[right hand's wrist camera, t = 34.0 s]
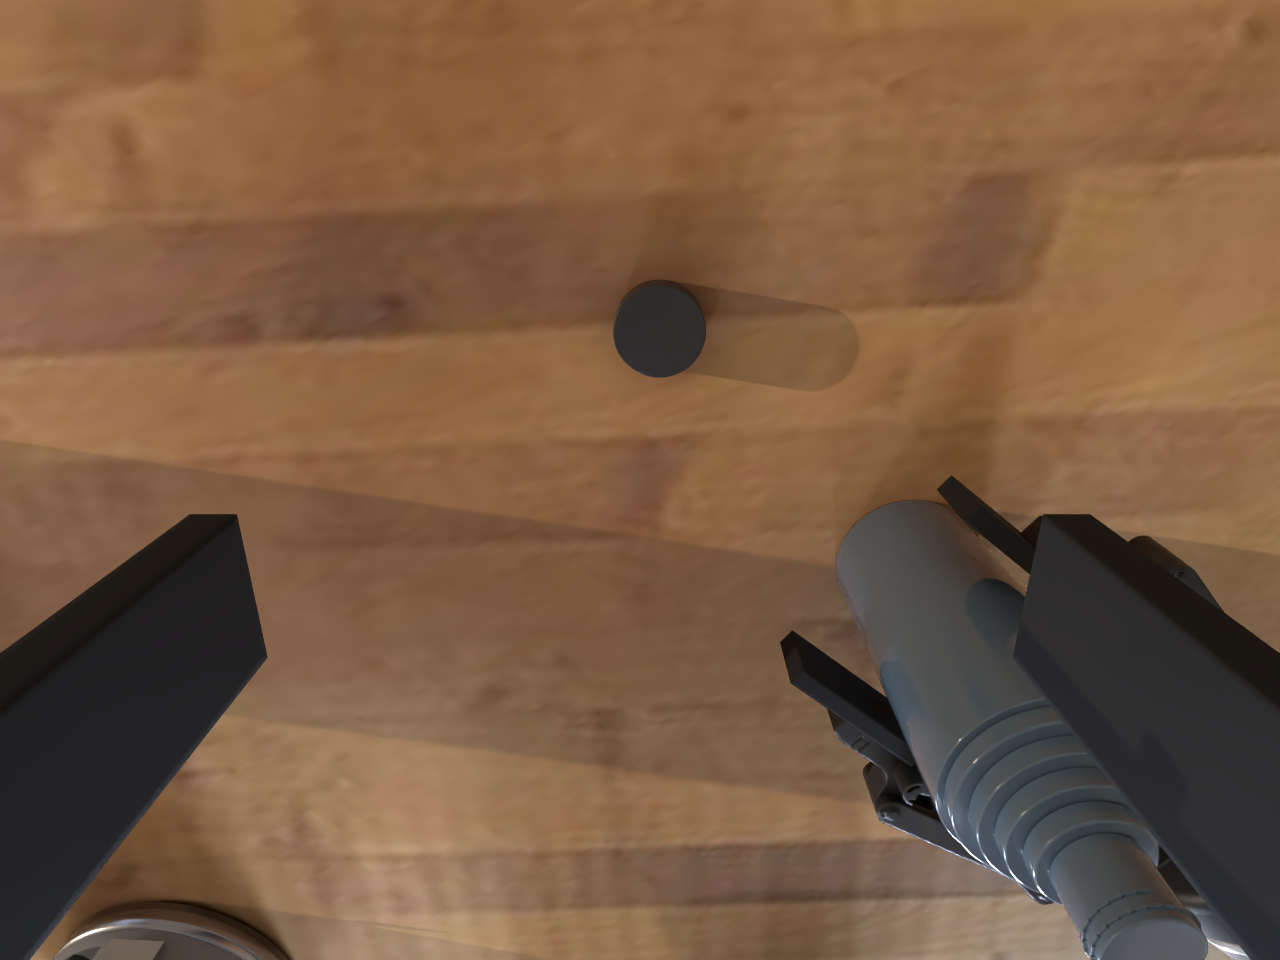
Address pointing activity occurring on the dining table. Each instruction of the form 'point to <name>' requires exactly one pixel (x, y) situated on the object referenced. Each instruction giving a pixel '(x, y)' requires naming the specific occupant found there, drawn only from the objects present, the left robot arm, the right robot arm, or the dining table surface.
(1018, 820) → the bottle
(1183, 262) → the dining table surface
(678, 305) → the cap
